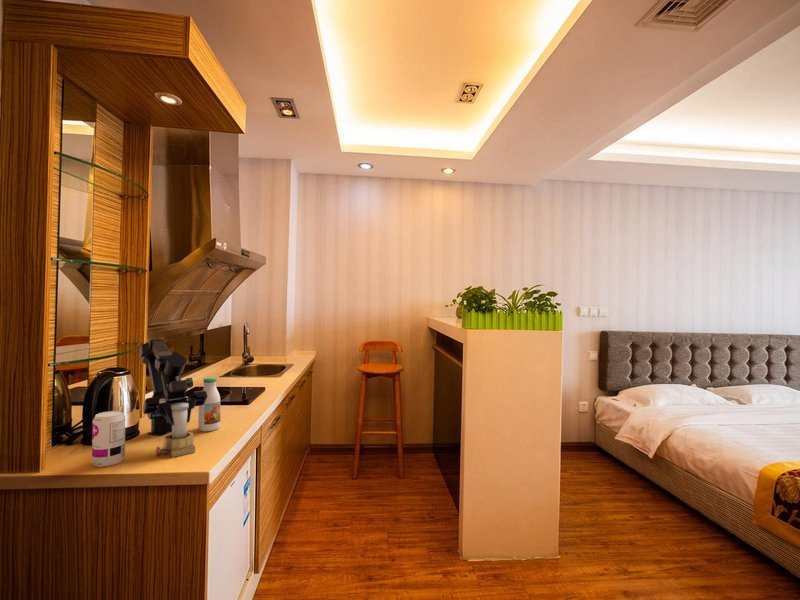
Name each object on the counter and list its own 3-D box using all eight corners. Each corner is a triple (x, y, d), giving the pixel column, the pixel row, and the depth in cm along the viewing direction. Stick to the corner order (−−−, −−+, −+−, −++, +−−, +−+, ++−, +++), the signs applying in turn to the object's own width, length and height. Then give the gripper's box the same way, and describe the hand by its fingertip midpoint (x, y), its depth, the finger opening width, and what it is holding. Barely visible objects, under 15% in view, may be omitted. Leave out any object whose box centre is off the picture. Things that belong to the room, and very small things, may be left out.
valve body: (151, 449, 135) (151, 433, 135) (185, 442, 142) (185, 427, 142) (160, 461, 125) (160, 444, 125) (197, 452, 132) (197, 436, 132)
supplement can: (91, 470, 117) (92, 419, 117) (92, 461, 124) (93, 412, 124) (125, 463, 122) (125, 414, 122) (124, 455, 128) (124, 408, 128)
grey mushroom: (166, 444, 131) (167, 406, 131) (177, 438, 136) (177, 402, 136) (181, 445, 130) (182, 406, 130) (191, 439, 135) (192, 402, 135)
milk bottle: (195, 432, 151) (196, 380, 151) (201, 426, 159) (202, 376, 159) (217, 431, 153) (218, 379, 153) (222, 425, 160) (222, 375, 160)
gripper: (145, 373, 129) (152, 415, 121) (206, 367, 142) (216, 404, 134) (140, 393, 135) (146, 434, 127) (199, 386, 148) (208, 422, 140)
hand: (180, 423), depth 132 cm, fingers closed on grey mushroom, 4 cm apart
